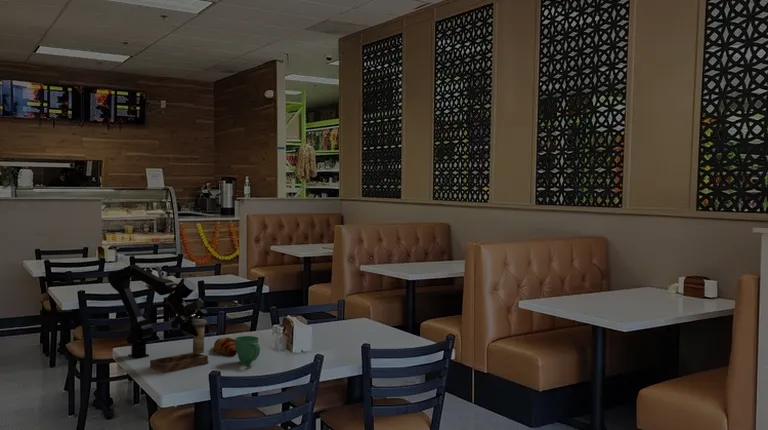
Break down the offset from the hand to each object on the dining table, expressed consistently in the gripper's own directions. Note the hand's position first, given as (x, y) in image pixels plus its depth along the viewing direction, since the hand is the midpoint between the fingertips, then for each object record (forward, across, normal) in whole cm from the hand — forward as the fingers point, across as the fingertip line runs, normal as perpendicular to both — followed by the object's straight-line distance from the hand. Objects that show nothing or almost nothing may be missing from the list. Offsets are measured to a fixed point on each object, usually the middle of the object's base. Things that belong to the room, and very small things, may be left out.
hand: (201, 334), depth 271 cm
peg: (+4, 0, +6) cm, 8 cm away
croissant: (+8, +23, +10) cm, 26 cm away
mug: (+21, +9, -4) cm, 23 cm away
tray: (+4, -5, +14) cm, 15 cm away
